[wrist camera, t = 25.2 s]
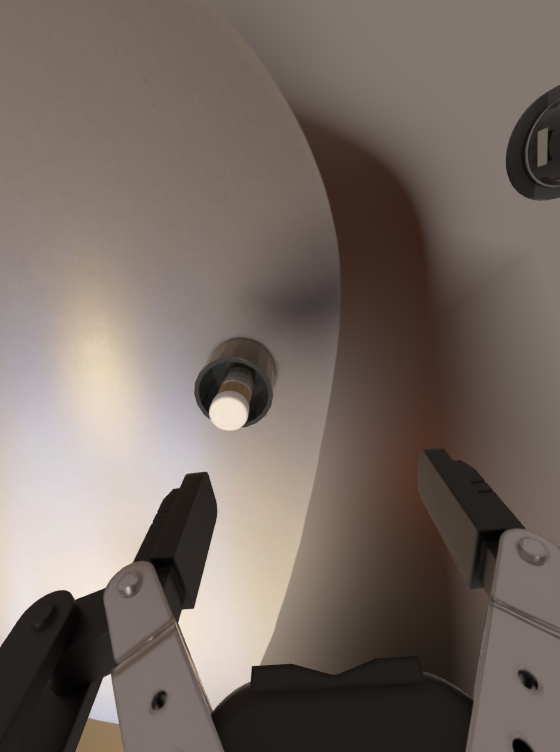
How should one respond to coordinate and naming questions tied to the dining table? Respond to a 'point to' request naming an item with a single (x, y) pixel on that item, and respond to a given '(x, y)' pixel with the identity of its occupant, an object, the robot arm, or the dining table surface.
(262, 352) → the dark gray cylindrical container
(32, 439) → the dining table surface
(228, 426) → the sprinkles bottle
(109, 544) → the dining table surface
